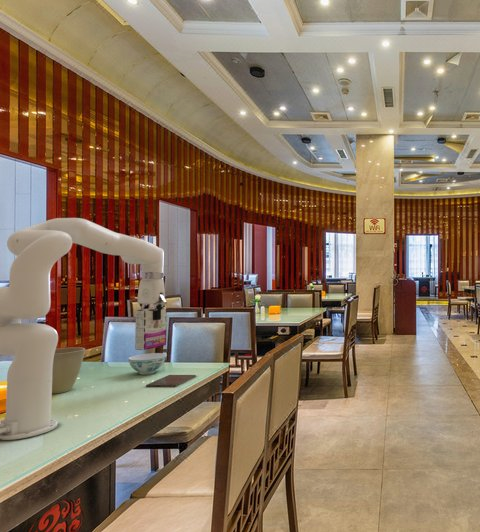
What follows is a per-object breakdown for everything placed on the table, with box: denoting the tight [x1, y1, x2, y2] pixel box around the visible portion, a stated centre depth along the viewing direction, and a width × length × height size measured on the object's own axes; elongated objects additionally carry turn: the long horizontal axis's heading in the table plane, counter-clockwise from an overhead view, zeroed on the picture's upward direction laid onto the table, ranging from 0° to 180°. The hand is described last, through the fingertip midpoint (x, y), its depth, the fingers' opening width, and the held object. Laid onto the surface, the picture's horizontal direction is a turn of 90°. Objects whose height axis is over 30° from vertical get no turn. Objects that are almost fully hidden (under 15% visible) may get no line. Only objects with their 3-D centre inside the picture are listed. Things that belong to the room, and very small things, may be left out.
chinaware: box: [128, 352, 168, 376], centre depth 176 cm, size 15×15×8 cm
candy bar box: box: [134, 307, 167, 351], centre depth 156 cm, size 11×5×16 cm, turn 169°
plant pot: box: [52, 347, 86, 395], centre depth 147 cm, size 15×15×16 cm
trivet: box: [145, 374, 197, 388], centre depth 162 cm, size 16×12×1 cm
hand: (151, 319), depth 156 cm, fingers closed on candy bar box, 5 cm apart
